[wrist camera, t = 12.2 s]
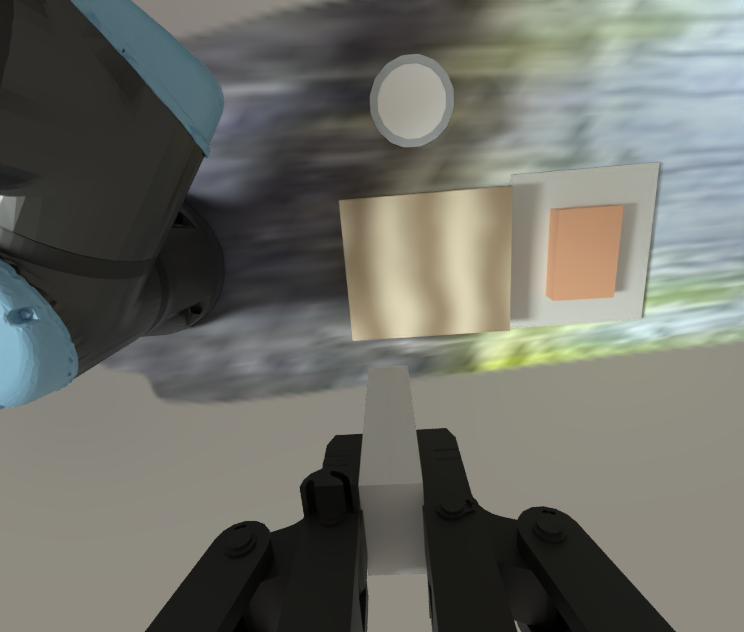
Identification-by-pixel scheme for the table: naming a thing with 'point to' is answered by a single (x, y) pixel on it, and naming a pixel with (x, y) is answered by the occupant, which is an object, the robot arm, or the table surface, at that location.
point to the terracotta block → (583, 252)
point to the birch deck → (428, 262)
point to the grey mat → (532, 234)
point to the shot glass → (411, 100)
